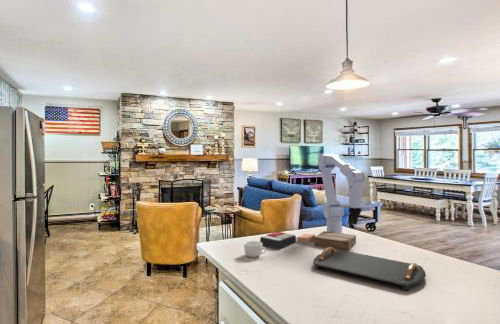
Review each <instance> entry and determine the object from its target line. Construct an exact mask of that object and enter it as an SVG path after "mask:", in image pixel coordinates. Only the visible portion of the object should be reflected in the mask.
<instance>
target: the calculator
mask: <svg viewBox="0 0 500 324" xmlns="http://www.w3.org/2000/svg"><path fill="white" fill-rule="evenodd" d="M296 238H297V236H296V235H295V234H292V233H287V232H282V231H276V232H272V233H268V234H266V235H263V236H261V237H260V239H259V242H261V243H262V247H268V248H272V249H277V250H280V249H282V248H284V247H285V246H289V245H291V244H295V243H294V242H296Z"/></svg>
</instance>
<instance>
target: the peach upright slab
mask: <svg viewBox="0 0 500 324" xmlns="http://www.w3.org/2000/svg"><path fill="white" fill-rule="evenodd" d="M297 237H298V241H300V242H307V243H310V242H311V241H313V240H314V237H316V234H313V233H306V232H305V233H302V234H301V236H300V235H299V236H297Z"/></svg>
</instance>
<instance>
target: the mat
mask: <svg viewBox="0 0 500 324" xmlns="http://www.w3.org/2000/svg"><path fill="white" fill-rule="evenodd" d="M301 235H302V234H301ZM301 235H299V236H301ZM299 236H296V242H294V243H293V244H297V245H302V246H303V245H305V246H310V247H313V246H314V240H313V241H311V242H310V243H307V242H300V241H298V237H299Z"/></svg>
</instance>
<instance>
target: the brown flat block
mask: <svg viewBox="0 0 500 324" xmlns="http://www.w3.org/2000/svg"><path fill="white" fill-rule="evenodd" d="M356 244H357V234H356V235H355V234H348V233H344V234H341V233H334V232H327V230H326V231H321V232H320V233H319V234H318V235H315V237H314V245H313V246H315V247H321V248H325V249H326V248H328V247H333V248H334V249H335V250H343V251H348V252H350V250H351V249H352V248H353V247H354V246H355V245H356Z"/></svg>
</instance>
